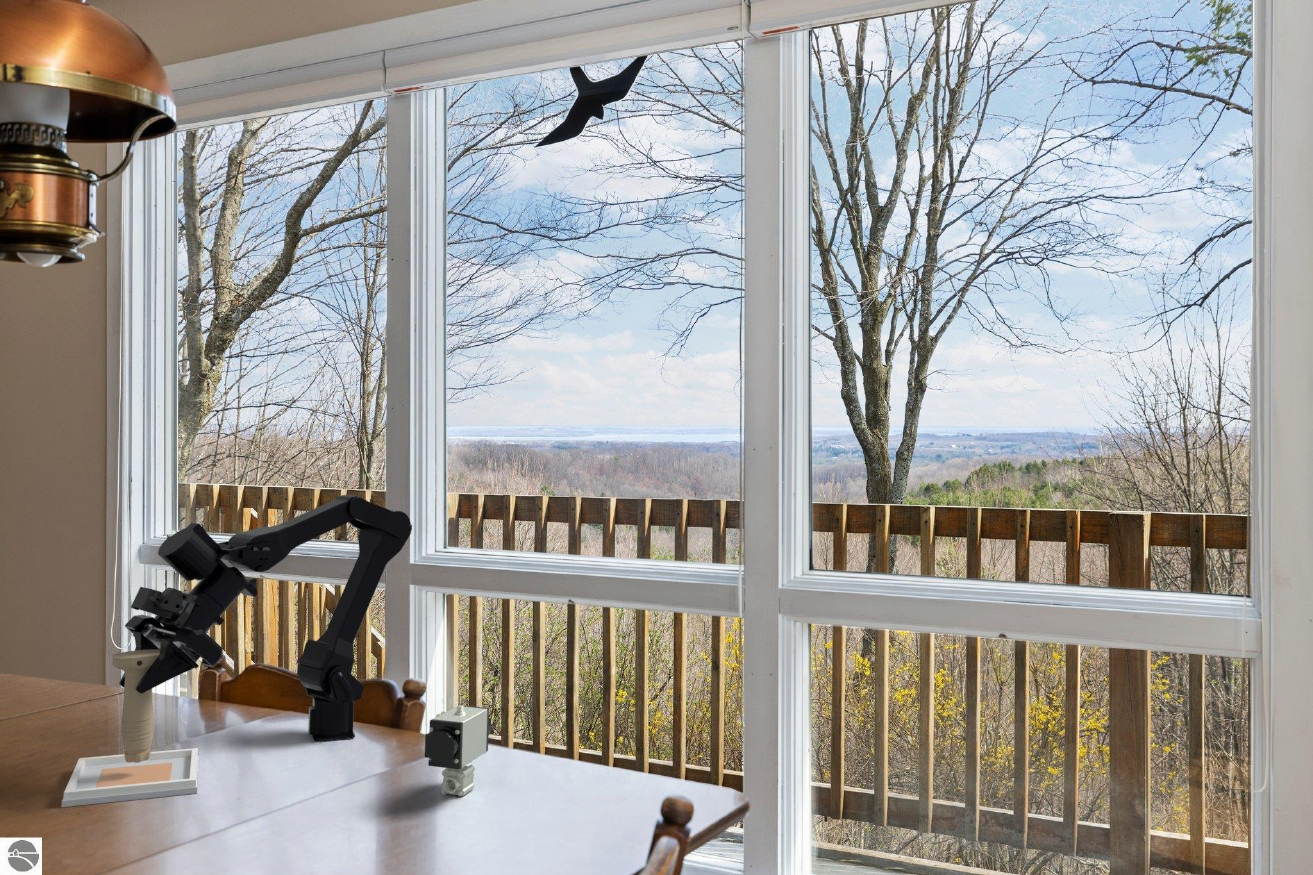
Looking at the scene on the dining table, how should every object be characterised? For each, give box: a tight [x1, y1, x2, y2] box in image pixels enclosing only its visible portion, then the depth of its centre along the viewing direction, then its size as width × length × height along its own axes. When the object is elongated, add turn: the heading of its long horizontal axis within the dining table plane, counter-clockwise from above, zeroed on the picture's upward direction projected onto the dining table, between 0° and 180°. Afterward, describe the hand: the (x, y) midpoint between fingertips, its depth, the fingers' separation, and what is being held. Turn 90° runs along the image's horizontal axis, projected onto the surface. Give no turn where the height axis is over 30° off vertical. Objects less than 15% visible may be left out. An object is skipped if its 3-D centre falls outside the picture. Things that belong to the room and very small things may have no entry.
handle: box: [112, 650, 160, 763], centre depth 140 cm, size 5×6×15 cm
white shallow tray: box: [61, 747, 200, 808], centre depth 140 cm, size 16×16×2 cm
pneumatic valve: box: [424, 704, 492, 797], centre depth 139 cm, size 6×12×12 cm, turn 164°
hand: (129, 688), depth 139 cm, fingers closed on handle, 4 cm apart
